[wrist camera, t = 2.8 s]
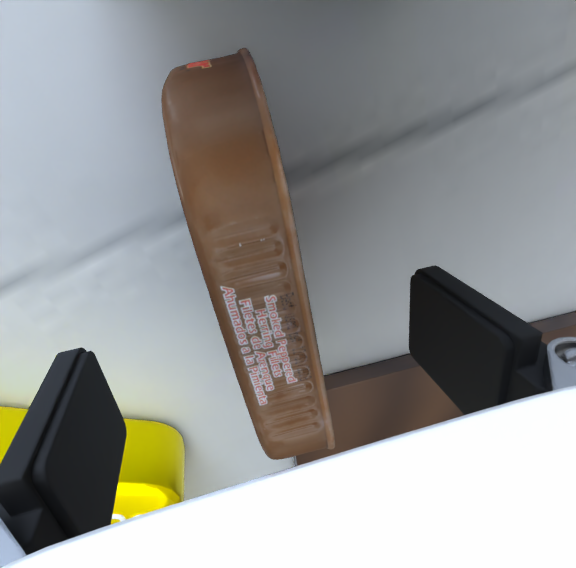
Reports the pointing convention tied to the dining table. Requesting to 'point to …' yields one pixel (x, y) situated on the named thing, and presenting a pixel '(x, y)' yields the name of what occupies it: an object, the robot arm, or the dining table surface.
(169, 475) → the element tile
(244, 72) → the tin
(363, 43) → the dining table surface
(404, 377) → the board
